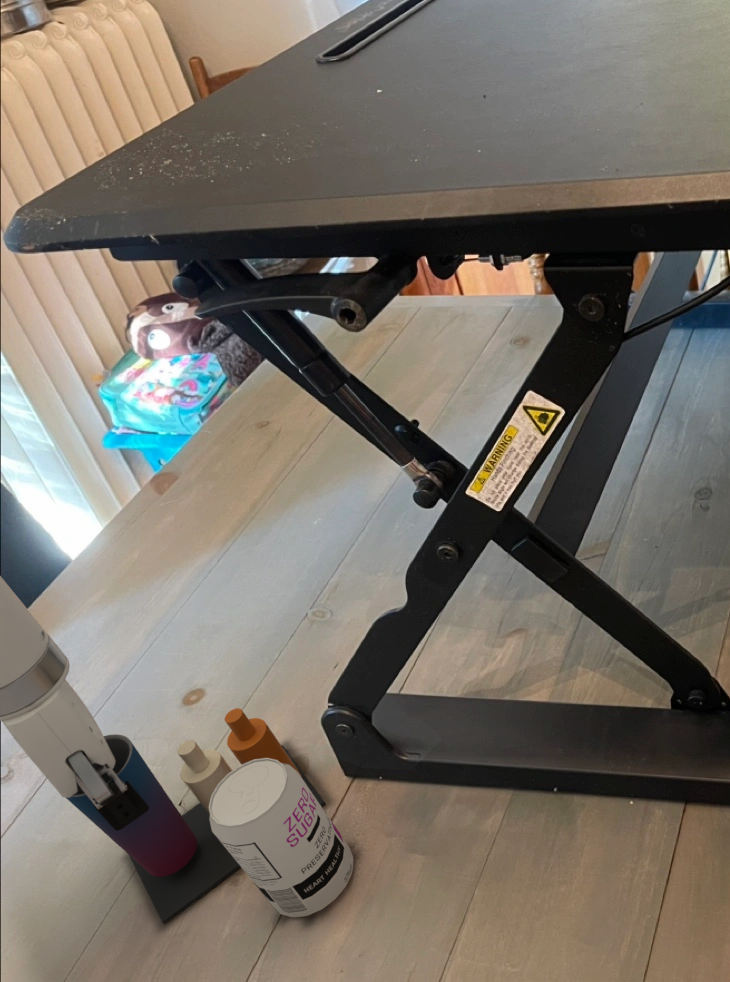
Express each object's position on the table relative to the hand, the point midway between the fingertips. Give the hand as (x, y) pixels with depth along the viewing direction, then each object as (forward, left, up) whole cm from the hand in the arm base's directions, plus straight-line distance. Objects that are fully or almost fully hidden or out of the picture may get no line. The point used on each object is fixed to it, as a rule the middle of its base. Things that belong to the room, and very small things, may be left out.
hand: (121, 796), depth 101 cm
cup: (0, 0, -10) cm, 10 cm away
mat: (+5, 0, -12) cm, 13 cm away
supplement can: (+9, -13, -12) cm, 20 cm away
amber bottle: (+12, 0, -11) cm, 16 cm away
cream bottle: (+7, 0, -11) cm, 13 cm away
